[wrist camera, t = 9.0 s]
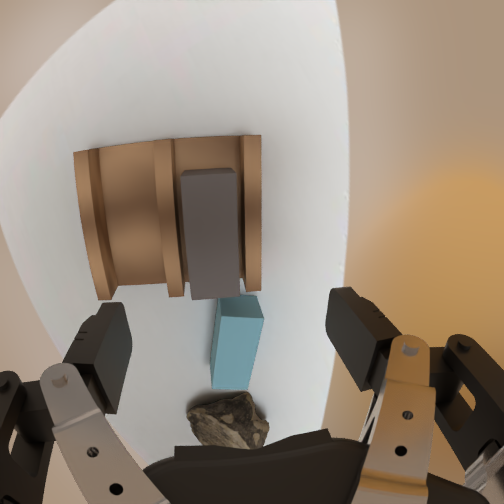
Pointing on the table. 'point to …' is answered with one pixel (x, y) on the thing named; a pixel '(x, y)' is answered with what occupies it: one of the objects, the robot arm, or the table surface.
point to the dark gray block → (211, 232)
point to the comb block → (160, 208)
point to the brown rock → (229, 423)
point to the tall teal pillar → (235, 341)
